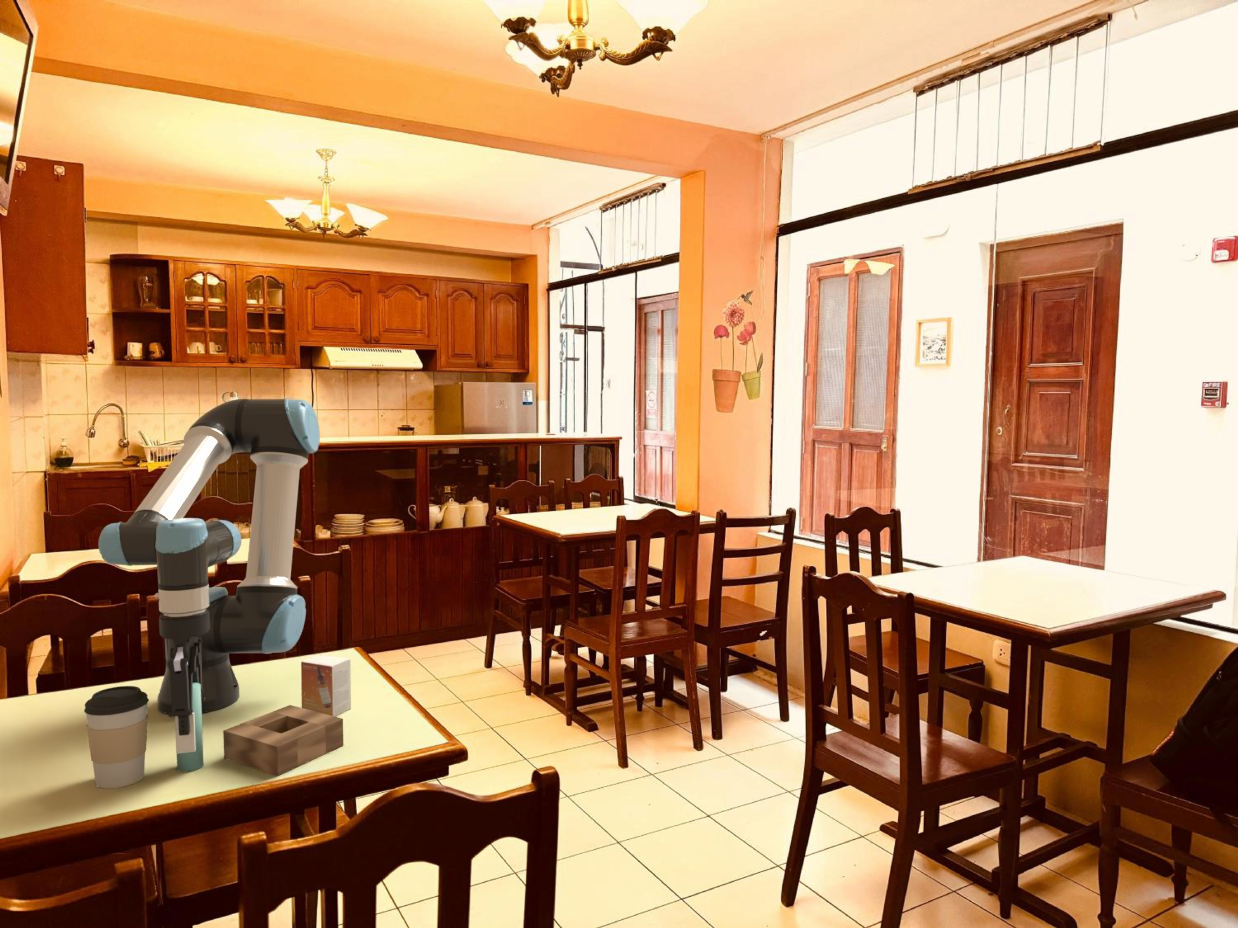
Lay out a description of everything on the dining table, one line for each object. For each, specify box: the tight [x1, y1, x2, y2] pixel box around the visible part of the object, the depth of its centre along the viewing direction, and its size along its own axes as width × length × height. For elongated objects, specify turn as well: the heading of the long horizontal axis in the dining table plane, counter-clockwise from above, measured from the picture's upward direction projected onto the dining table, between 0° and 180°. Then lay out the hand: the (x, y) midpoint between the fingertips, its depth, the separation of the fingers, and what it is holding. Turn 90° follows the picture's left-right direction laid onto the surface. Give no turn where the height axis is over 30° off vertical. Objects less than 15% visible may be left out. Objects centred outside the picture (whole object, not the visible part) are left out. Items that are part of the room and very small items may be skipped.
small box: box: [300, 654, 352, 717], centre depth 166 cm, size 8×6×10 cm
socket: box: [222, 704, 344, 777], centre depth 147 cm, size 14×14×5 cm
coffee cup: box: [83, 685, 150, 789], centre depth 136 cm, size 9×9×15 cm
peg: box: [174, 683, 204, 773], centre depth 140 cm, size 4×4×14 cm
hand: (189, 745), depth 140 cm, fingers closed on peg, 4 cm apart
